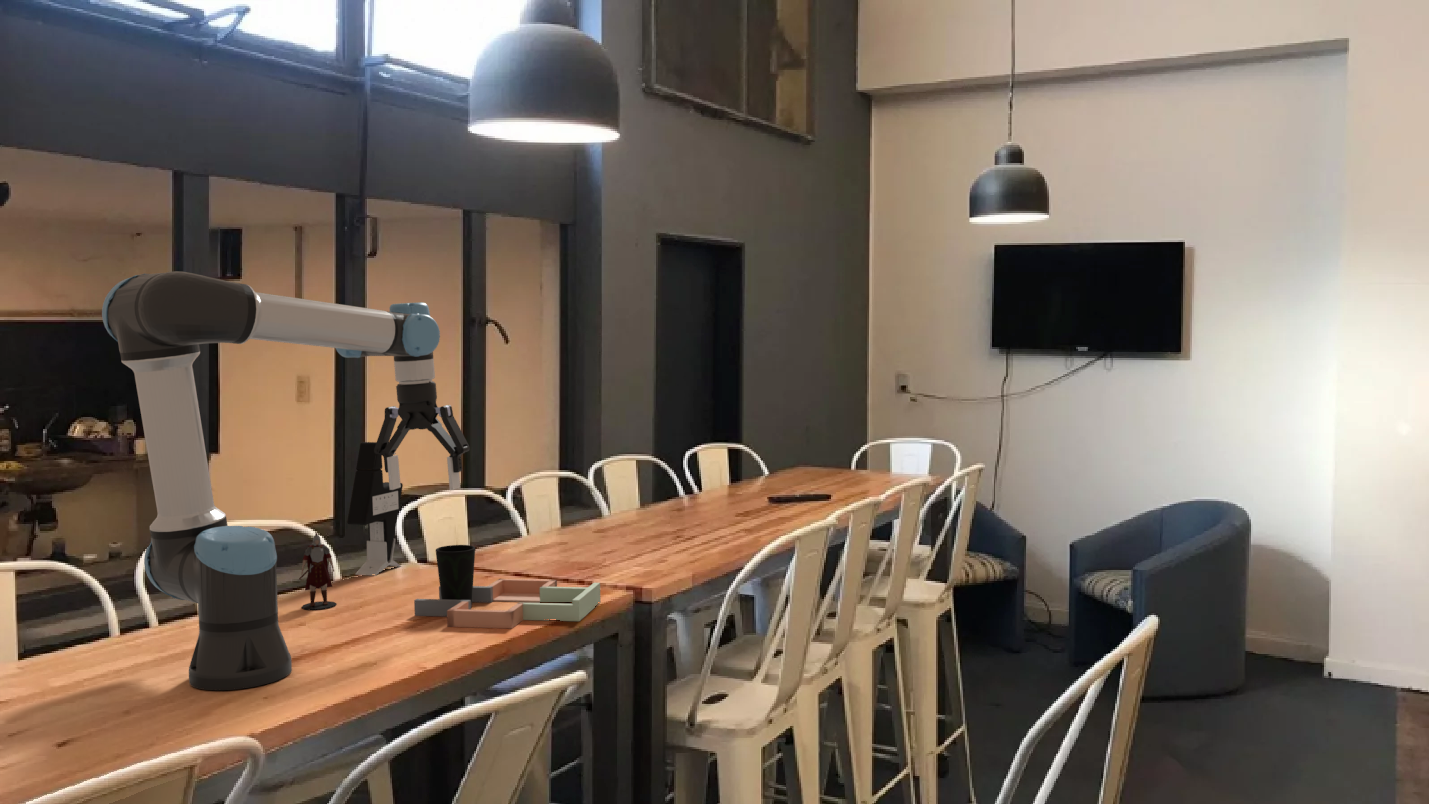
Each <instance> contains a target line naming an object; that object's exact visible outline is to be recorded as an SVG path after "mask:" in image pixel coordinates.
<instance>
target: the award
mask: <svg viewBox="0 0 1429 804" xmlns="http://www.w3.org/2000/svg"><path fill="white" fill-rule="evenodd" d="M376 443H377V441H372V442H370V441H361V442H360V445H359V450H358V457H357V459H356V462H357V463H356V468H355V470H356V471H355V473H354V480H353V485H352V491H351V496H350V497H351V498H350V502H349V508H348V514H347V521H346V522H347V525H353V526H354V525H355V526H367V529H368V531H367V532H368V540H366V561H365V562H364V563H363V564H362V566H360V567H359V569H358V571H356V572H355V575H362V576H373V575H372V574H375V575H374V576H377V575H378V574H380V573H381V572H382V571H383V570H385V569H386V568H387V567H394V568H395V567H396V568H397V567H398V568H401V567H402V565H401V564H399V562H397V561H395V560H394V559H393V557H394V551H395V545H396V538H394V537H395V533H396V526H397V521H398V520H397V519H398V516H399V515H398V514H399V509H400V504H401V498H402V492H403V487H404V484H403V482H400V484H401V487H400V488H397V489H394V490H390V487H389V481H385V482H384V475H383V470H382V469H383V456H382V455H381V454H376V453H375V452H374V448H375V445H376ZM379 572H380V573H379ZM374 576H373V577H374Z"/></svg>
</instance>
